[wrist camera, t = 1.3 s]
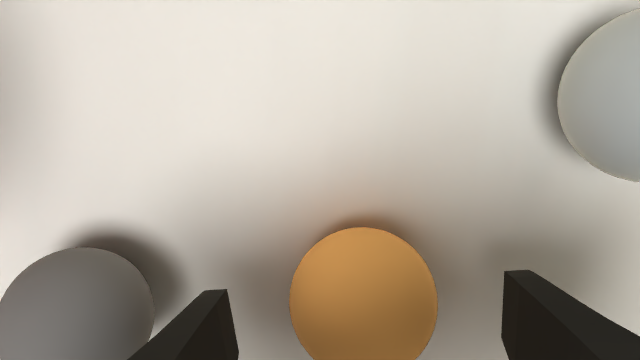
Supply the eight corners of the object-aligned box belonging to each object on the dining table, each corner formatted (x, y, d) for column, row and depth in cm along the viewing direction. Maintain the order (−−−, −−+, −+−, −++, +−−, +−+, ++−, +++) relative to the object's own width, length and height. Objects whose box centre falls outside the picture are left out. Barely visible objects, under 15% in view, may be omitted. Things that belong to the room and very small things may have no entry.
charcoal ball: (67, 335, 16) (-13, 435, 12) (32, 229, 15) (-70, 305, 11) (183, 327, 16) (136, 427, 12) (158, 219, 15) (97, 294, 11)
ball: (302, 320, 16) (292, 419, 12) (287, 209, 14) (271, 282, 11) (424, 313, 15) (453, 411, 12) (422, 199, 14) (454, 270, 10)
